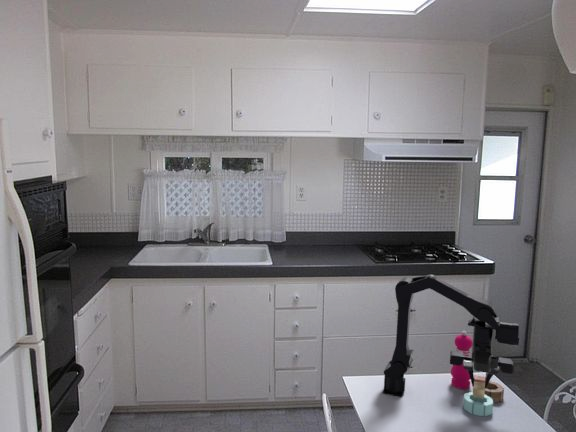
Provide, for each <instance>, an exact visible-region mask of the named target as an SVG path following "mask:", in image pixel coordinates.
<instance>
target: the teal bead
mask: <svg viewBox="0 0 576 432" xmlns="http://www.w3.org/2000/svg"><path fill="white" fill-rule="evenodd" d="M462 403H463V404H462V405H463V409H464V411H466V412H468V413H469V414H471V415H474V416H478V417H479V416H480V417H488V416H492V415H493V413H494V412H493V409H494V402H493V399H492V398H490V397H489V396H487V395H485V394H484V399H482V398H476V397H473V391H469V392H466V393H464V394H463V402H462Z"/></svg>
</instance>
